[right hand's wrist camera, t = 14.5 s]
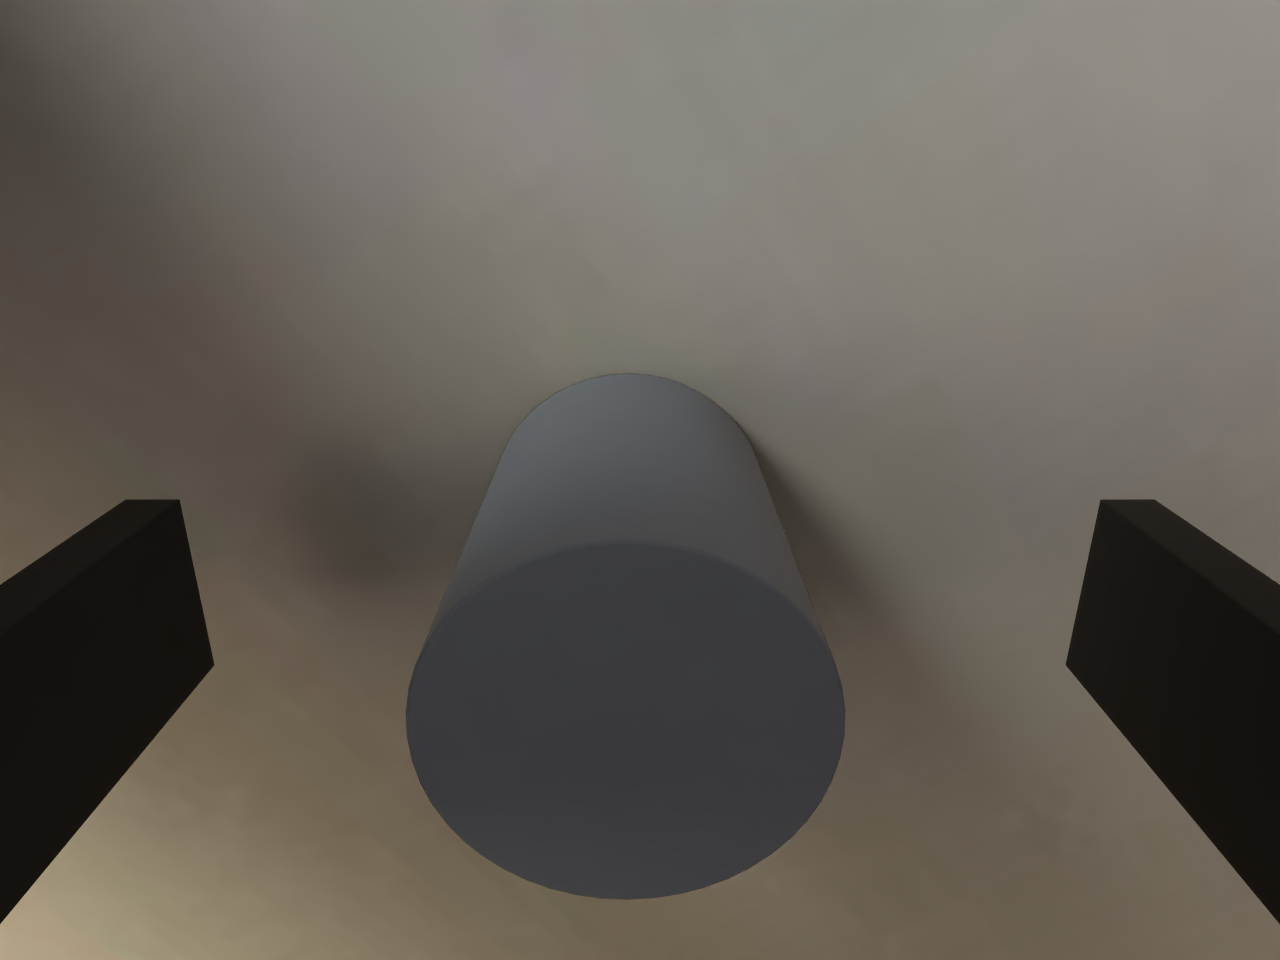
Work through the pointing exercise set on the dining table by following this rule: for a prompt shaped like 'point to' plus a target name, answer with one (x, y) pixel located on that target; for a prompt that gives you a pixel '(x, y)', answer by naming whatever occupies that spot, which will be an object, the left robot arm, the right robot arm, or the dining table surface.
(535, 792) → the grey cylinder
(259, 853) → the dining table surface
